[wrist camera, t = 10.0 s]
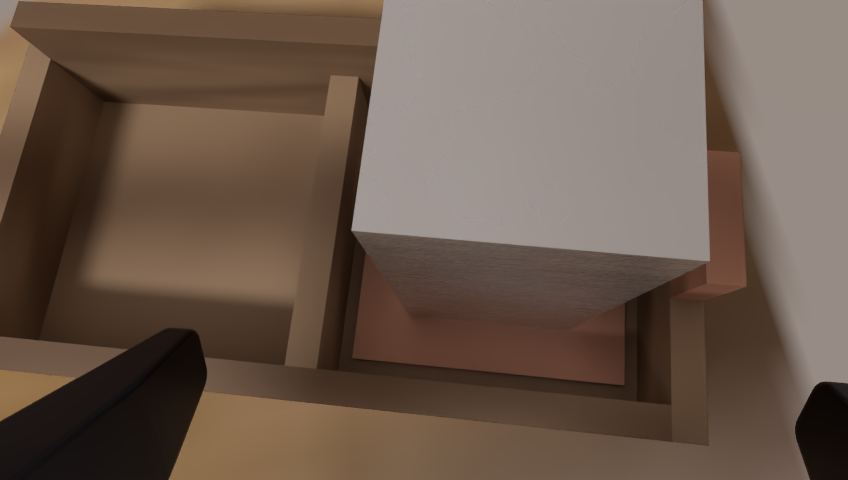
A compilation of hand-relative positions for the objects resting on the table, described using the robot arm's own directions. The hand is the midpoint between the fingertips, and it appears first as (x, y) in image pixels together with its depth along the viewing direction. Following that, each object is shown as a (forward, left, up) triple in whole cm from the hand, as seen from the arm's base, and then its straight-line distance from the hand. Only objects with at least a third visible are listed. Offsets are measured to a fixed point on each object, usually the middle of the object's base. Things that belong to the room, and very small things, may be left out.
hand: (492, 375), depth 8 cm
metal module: (+4, 0, -7) cm, 8 cm away
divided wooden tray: (+4, +4, -8) cm, 10 cm away
